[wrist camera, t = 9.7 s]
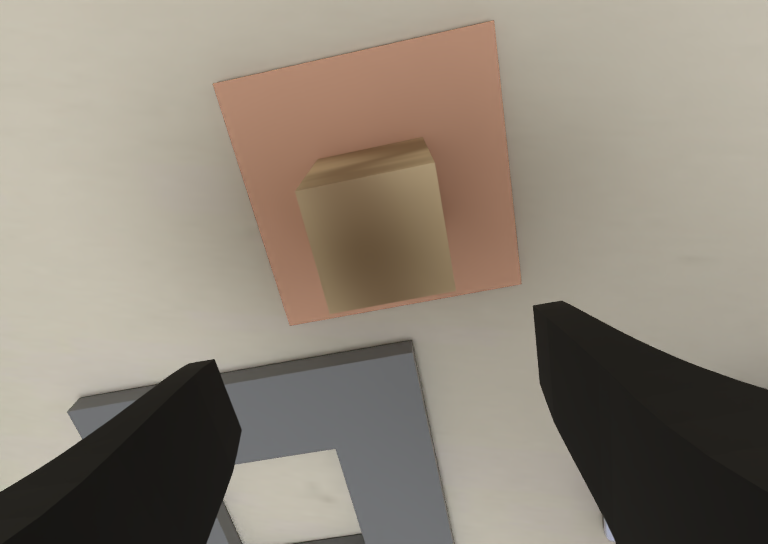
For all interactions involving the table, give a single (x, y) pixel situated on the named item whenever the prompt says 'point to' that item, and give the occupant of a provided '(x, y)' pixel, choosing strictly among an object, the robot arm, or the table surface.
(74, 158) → the table surface
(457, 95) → the pad
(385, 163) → the oak block
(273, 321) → the table surface
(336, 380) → the pocket board
